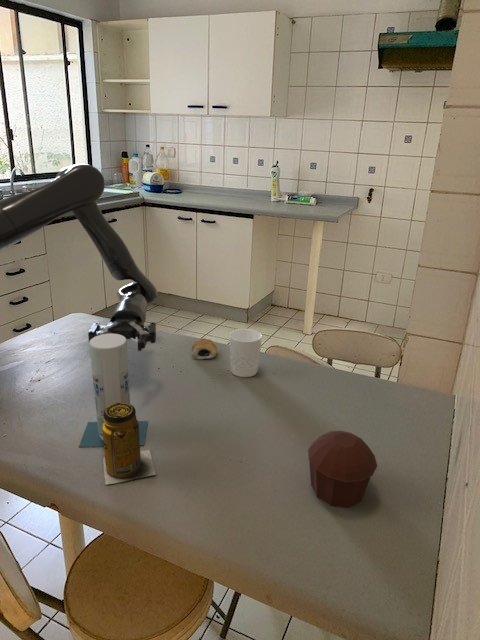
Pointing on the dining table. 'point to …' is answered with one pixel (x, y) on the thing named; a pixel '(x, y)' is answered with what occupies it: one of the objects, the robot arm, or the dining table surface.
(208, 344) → the pastry
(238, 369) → the white cup
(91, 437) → the mat
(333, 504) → the muffin
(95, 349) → the spray can
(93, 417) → the dining table surface
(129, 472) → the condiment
